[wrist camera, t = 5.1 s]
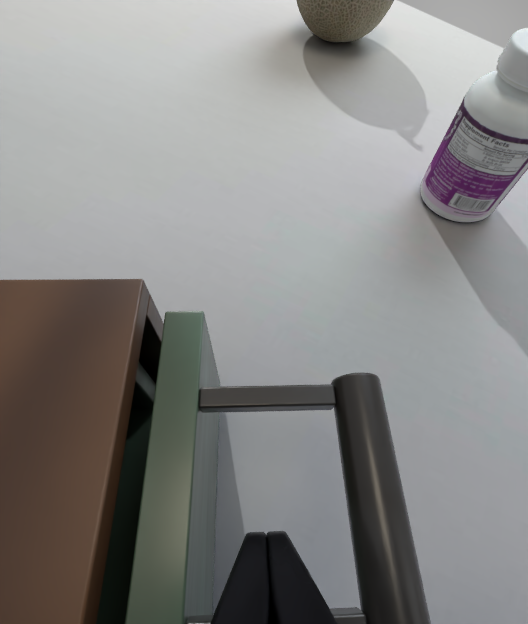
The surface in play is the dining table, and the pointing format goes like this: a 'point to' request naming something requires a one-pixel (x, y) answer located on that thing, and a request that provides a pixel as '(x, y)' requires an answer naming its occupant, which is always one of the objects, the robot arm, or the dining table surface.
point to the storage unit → (65, 436)
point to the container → (203, 483)
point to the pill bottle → (483, 142)
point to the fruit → (342, 17)
